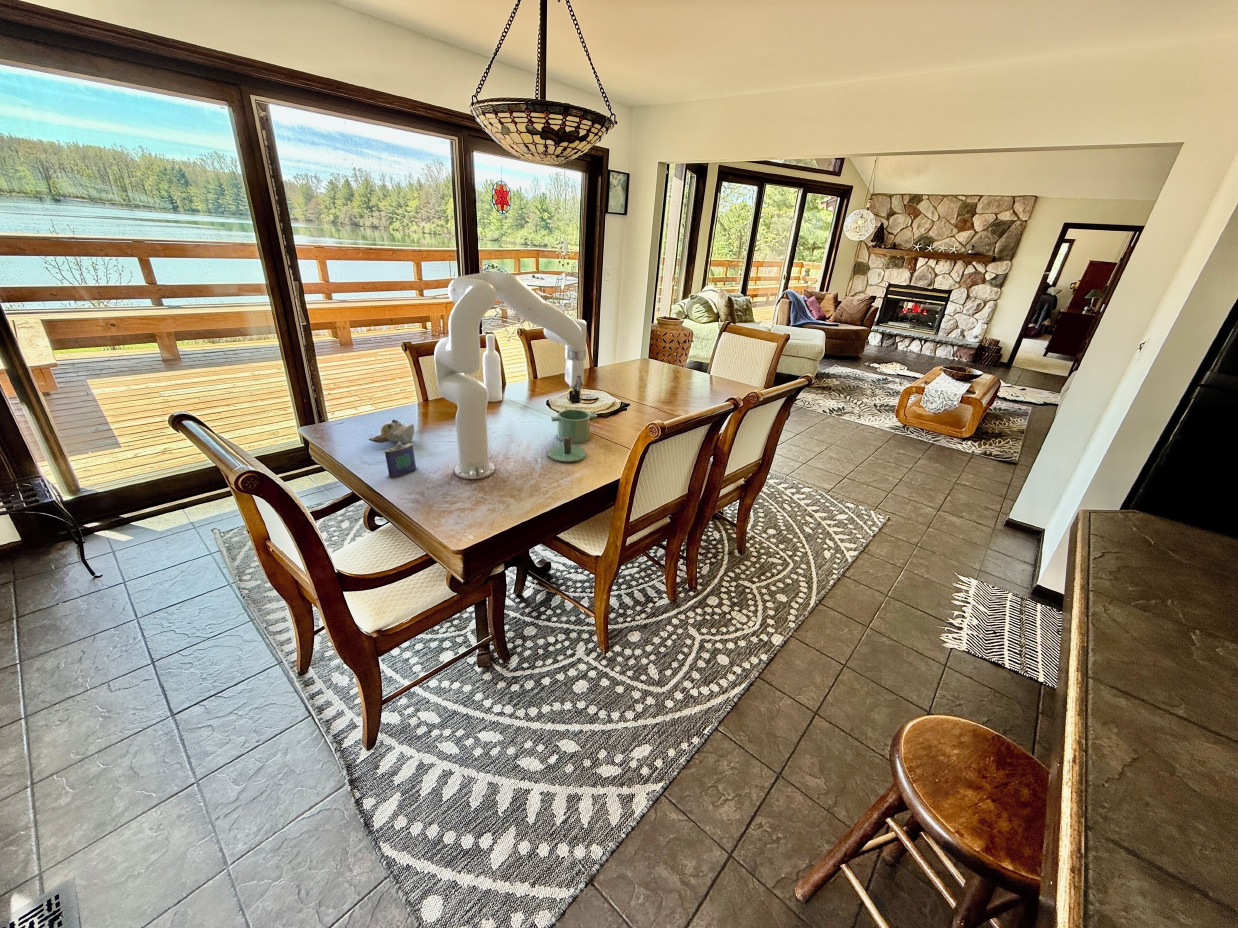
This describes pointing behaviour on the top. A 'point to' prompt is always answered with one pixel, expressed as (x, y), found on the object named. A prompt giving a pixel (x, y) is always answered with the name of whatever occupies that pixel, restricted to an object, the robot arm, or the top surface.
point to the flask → (400, 460)
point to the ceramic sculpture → (395, 433)
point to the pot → (574, 425)
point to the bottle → (492, 370)
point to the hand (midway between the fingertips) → (574, 401)
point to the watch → (571, 390)
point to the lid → (567, 452)
